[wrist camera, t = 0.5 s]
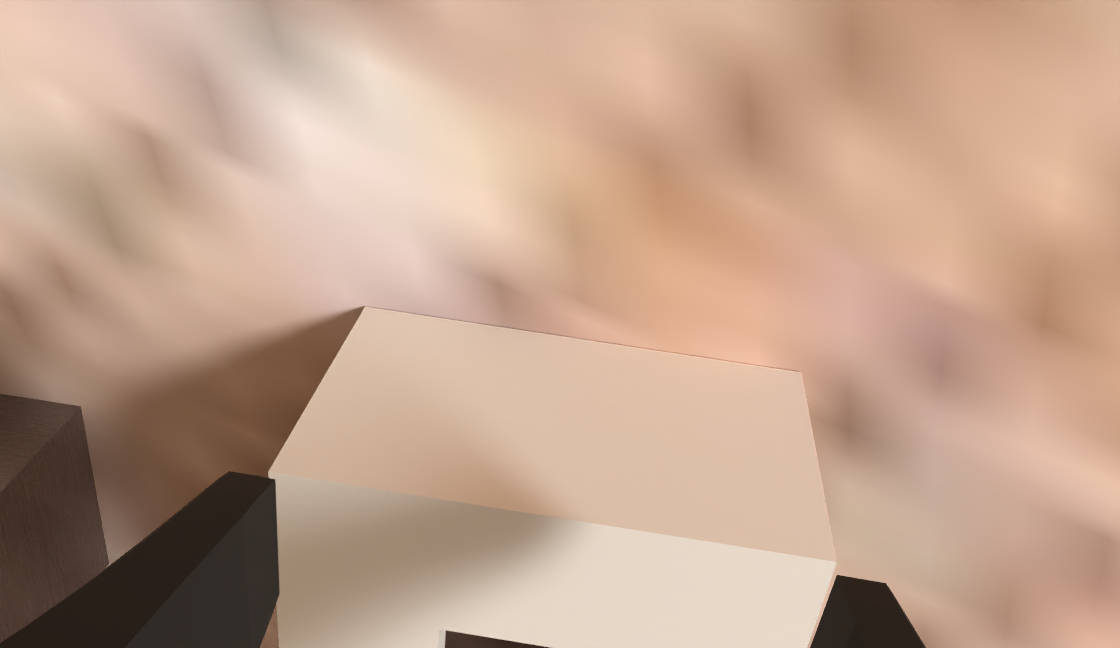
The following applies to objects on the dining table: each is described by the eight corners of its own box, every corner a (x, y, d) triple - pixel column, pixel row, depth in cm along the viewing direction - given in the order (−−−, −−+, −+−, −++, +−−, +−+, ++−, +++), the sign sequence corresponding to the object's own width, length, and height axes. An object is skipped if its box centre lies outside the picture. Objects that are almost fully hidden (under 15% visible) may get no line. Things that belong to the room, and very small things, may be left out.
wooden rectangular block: (109, 562, 28) (3, 710, 23) (34, 550, 28) (-85, 695, 23) (81, 405, 25) (-46, 540, 21) (-2, 392, 25) (-145, 524, 21)
